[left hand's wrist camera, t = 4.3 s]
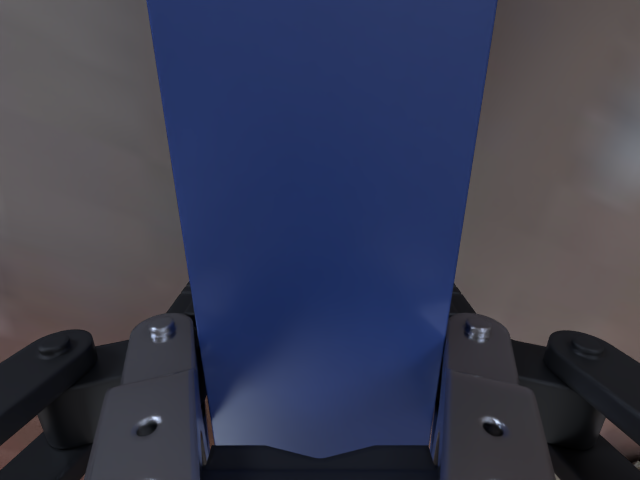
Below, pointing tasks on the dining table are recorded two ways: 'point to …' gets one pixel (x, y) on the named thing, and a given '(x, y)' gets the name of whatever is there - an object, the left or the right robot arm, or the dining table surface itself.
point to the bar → (321, 206)
